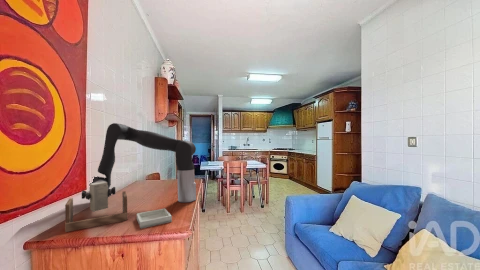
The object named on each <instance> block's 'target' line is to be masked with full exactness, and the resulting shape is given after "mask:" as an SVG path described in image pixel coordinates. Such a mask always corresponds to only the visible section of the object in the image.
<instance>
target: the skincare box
mask: <svg viewBox="0 0 480 270" xmlns="http://www.w3.org/2000/svg"><path fill="white" fill-rule="evenodd" d="M89 186H90V187H89V191H90V200H89V210H90V211H91V212H93V213H94V212H98V211H101V210H106V209H108V208H109V197H108V185H107V182H105V181H102V182H96V183H90V184H89Z"/></svg>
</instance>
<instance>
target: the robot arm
mask: <svg viewBox="0 0 480 270" xmlns="http://www.w3.org/2000/svg"><path fill="white" fill-rule="evenodd" d="M118 140H120V141H121V140H122V141H129V142H135V143H137V144H139V145H140V146H142V147H145V148H149V149H153V150H159V151H168V152H174V155H175V165H176V168H177V174H176V176H177V177H176V178H177V202H179V203H191V202H194V201H197V183H196V182H195V181H196V180H195V164H194V163H193V155H194V154H195V153H196V151H197V147H196V144H194V143H193V142H192V141H190V140H181V139H175V138H172V137H170V136H166V135H164V134H161V133H158V132H153V131H149V130H140V129H136V128H133V127H132V126H131V127H130V126H128V125H126V124H121V123H116V122H113V123H110V124H109V125H108V126H107V129H106V133H105V140H104V144H103V145H104V146H103V151H102V152H103V153H102V156H101V158H100V159H101V160H100V162H99V165H98V167H97V172H98V173H99V174H101V175H104V176H105V177H104V176H103V177H102V176H97V177H95V176H93V177H94V179H93V182H92V183H96V182H102V181H105V182H107V185H108V198H110V197H111V196H112V195H116V187H115V186H113V187H111V185H112V178H111V177H112V172H113V168H114V166H115V163H116V153H115V148H116V144H117V142H118ZM110 187H111V188H110ZM84 199H86V200H89V201H90V190H89V191H86V190H81V200H84Z"/></svg>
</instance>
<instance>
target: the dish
mask: <svg viewBox="0 0 480 270" xmlns="http://www.w3.org/2000/svg"><path fill="white" fill-rule="evenodd" d="M172 216H173V215H171V213H170V212H169V211H168V210H167V209H166V208H160V209H154V210H148V211H143V212H138V213H136V221H137V224H138V227H139V229H140V230H141V229H145V228H149V227H154V226H159V225H160V226H161V225H163V224H164V225H165V224H168V223H172V222H173V217H172Z"/></svg>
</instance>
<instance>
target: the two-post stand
mask: <svg viewBox="0 0 480 270" xmlns="http://www.w3.org/2000/svg"><path fill="white" fill-rule="evenodd" d="M121 195H122V199H121V200H122V213H115V214H110V215H104V216H98V217H93V218H87V219H82V220H77V221H74V198H73V197H71V198H68V200H67V201H66V203H65V205H64V209H65V210H64V213H65V218H64V219H65V223H64V232H65V233H67V232H73V231H78V230H83V229H84V230H85V229H88V228H93V227H99V226H103V225H108V224H115V223H120V222H123V221H124V222H125V221H128V220H129V219H128V218H129V217H128V215H129V214H128V213H129V212H128V195H127V193H126V191H122V193H121Z"/></svg>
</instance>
